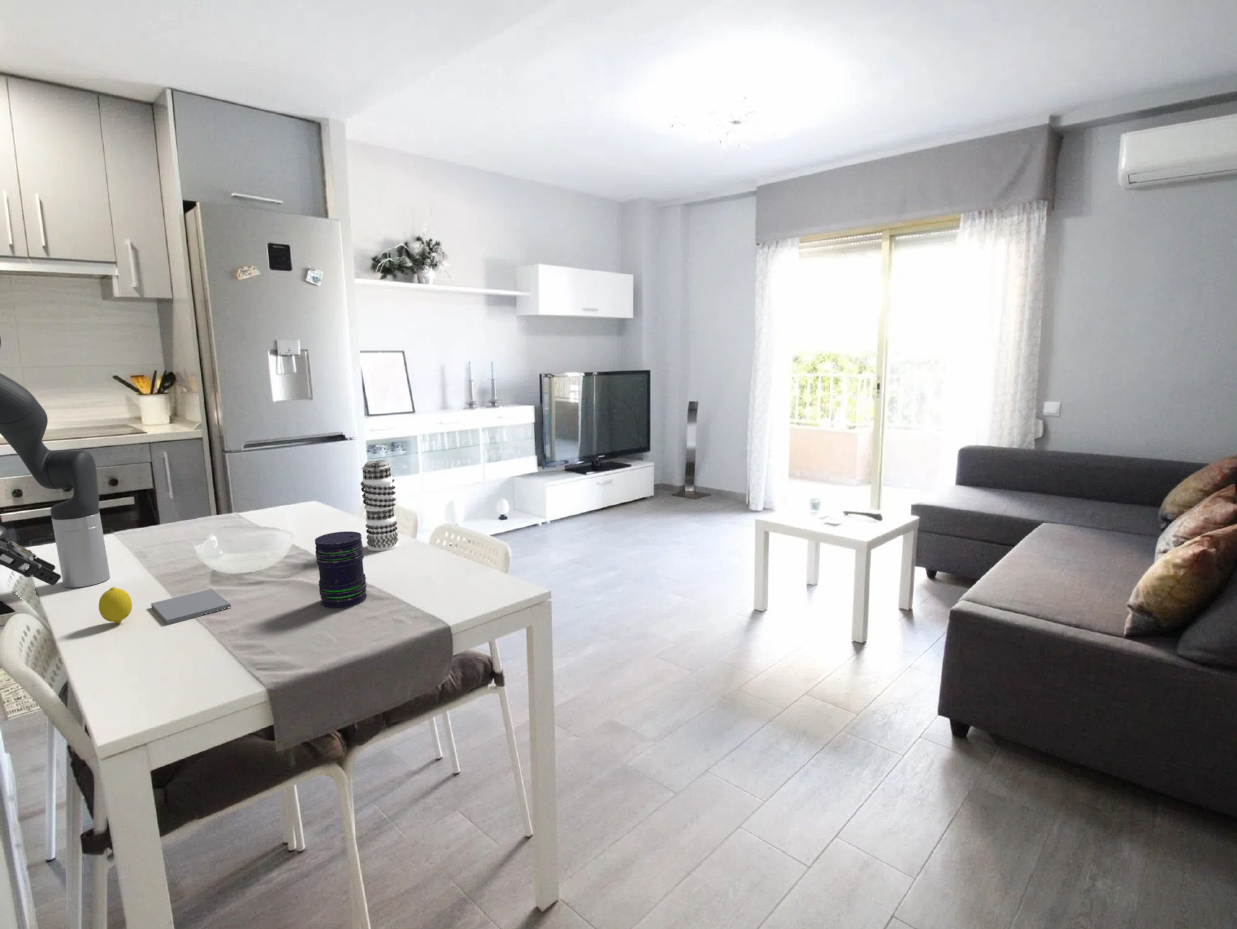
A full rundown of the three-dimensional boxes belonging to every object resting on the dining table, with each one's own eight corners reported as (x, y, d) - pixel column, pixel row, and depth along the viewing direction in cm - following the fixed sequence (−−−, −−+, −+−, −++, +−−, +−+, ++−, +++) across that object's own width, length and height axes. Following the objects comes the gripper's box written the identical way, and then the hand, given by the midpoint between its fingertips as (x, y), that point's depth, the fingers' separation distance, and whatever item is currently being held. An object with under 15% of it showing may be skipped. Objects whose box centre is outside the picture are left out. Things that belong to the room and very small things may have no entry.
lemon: (96, 630, 136) (90, 593, 134) (109, 620, 141) (103, 584, 139) (128, 626, 137) (122, 590, 136) (138, 616, 142) (133, 581, 141)
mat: (151, 607, 147) (151, 603, 147) (212, 592, 156) (211, 588, 156) (167, 624, 138) (166, 620, 138) (230, 608, 146) (230, 603, 146)
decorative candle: (367, 543, 193) (359, 460, 189) (400, 540, 196) (393, 458, 192) (365, 552, 185) (357, 465, 180) (399, 549, 188) (392, 463, 183)
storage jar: (317, 611, 144) (310, 545, 141) (324, 595, 153) (317, 533, 150) (365, 606, 146) (359, 541, 144) (369, 590, 155) (364, 529, 153)
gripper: (-18, 522, 117) (75, 567, 127) (-22, 509, 127) (64, 552, 137) (-54, 557, 114) (44, 601, 124) (-56, 542, 124) (35, 583, 134)
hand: (54, 575), depth 131 cm, fingers open, 8 cm apart
